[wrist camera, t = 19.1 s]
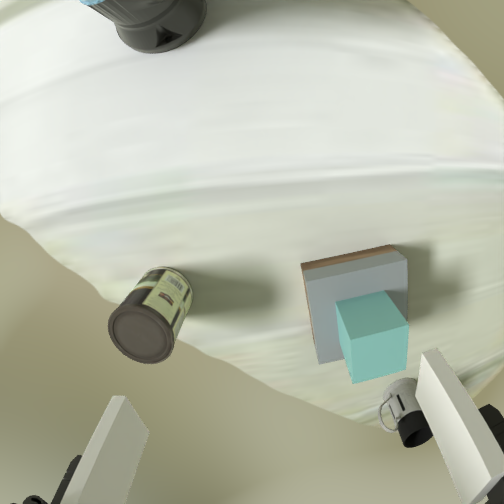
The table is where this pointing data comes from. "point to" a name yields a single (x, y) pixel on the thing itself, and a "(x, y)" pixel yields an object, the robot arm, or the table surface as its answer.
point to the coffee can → (151, 316)
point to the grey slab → (351, 294)
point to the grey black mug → (406, 413)
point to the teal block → (372, 336)
